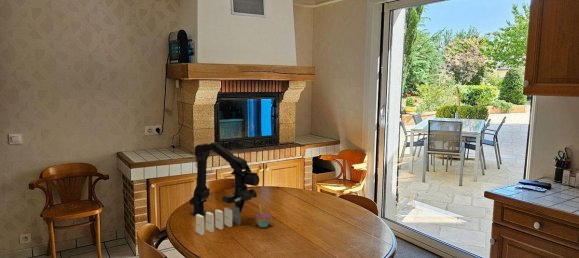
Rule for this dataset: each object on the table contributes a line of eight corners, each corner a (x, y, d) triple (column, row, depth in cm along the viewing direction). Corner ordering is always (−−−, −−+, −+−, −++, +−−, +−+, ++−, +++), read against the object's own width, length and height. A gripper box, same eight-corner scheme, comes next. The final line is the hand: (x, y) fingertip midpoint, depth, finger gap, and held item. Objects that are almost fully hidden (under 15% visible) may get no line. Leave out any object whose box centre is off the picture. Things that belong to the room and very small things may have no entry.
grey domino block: (238, 224, 207) (236, 208, 205) (233, 222, 211) (231, 206, 209) (241, 223, 208) (239, 207, 206) (235, 221, 212) (233, 205, 210)
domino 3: (220, 229, 200) (220, 212, 199) (215, 227, 203) (215, 210, 202) (223, 229, 201) (223, 211, 200) (218, 226, 204) (217, 209, 203)
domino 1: (201, 235, 192) (200, 217, 191) (196, 232, 196) (195, 214, 195) (204, 234, 193) (203, 216, 192) (199, 231, 197) (198, 214, 196)
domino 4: (229, 227, 203) (229, 210, 202) (224, 224, 207) (224, 207, 206) (232, 226, 204) (232, 209, 203) (227, 223, 208) (227, 207, 207)
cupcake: (256, 229, 201) (256, 206, 199) (253, 223, 209) (253, 201, 207) (273, 228, 203) (273, 205, 202) (269, 222, 211) (269, 200, 210)
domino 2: (211, 232, 196) (210, 214, 195) (205, 229, 199) (205, 212, 198) (213, 231, 197) (213, 214, 196) (208, 228, 200) (208, 211, 199)
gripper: (234, 189, 196) (234, 220, 198) (263, 183, 209) (263, 212, 210) (221, 185, 204) (221, 214, 206) (250, 179, 217) (250, 207, 218)
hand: (239, 212), depth 210 cm, fingers closed
